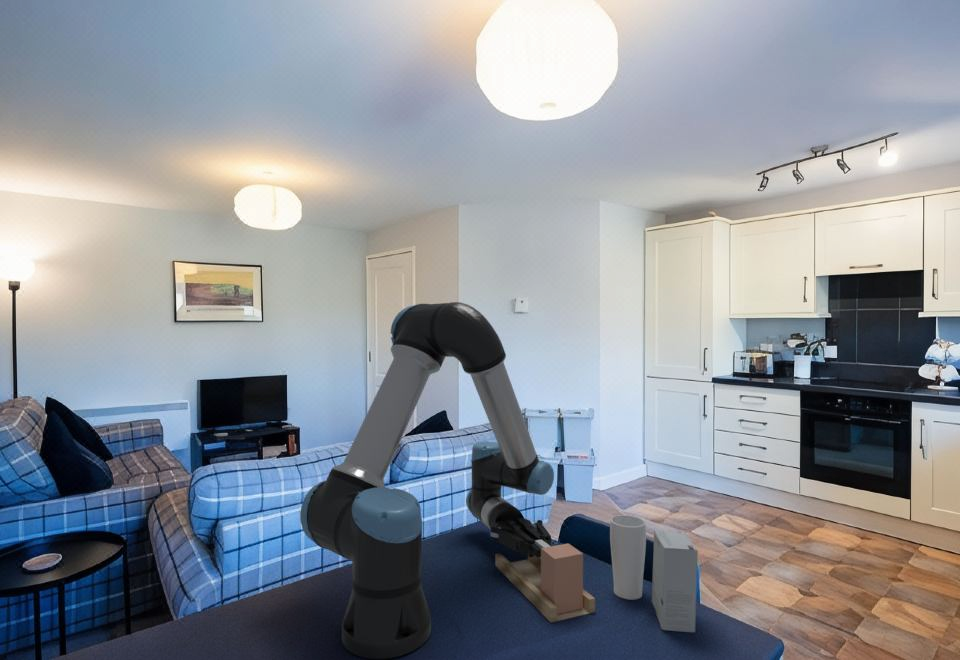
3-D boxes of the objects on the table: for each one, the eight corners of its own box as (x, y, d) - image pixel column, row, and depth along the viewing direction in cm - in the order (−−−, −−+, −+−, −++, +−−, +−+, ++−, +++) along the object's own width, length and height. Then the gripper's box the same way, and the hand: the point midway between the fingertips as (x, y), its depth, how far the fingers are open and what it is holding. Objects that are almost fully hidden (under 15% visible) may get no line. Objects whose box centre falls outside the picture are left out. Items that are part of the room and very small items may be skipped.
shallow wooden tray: (495, 569, 112) (495, 554, 112) (532, 562, 115) (532, 547, 115) (550, 628, 90) (550, 608, 90) (594, 617, 93) (595, 598, 93)
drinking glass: (611, 604, 98) (611, 525, 98) (608, 587, 104) (608, 513, 104) (648, 608, 96) (648, 528, 96) (643, 590, 103) (643, 515, 103)
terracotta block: (540, 601, 96) (540, 548, 96) (568, 595, 99) (568, 543, 99) (554, 615, 92) (554, 559, 92) (583, 608, 94) (583, 553, 94)
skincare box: (651, 607, 97) (651, 528, 97) (684, 608, 96) (683, 529, 96) (662, 632, 88) (662, 546, 89) (698, 634, 88) (698, 547, 88)
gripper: (527, 530, 122) (583, 573, 100) (476, 538, 117) (524, 585, 95) (527, 499, 122) (583, 534, 100) (476, 506, 117) (524, 545, 95)
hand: (554, 559), depth 98 cm, fingers closed
